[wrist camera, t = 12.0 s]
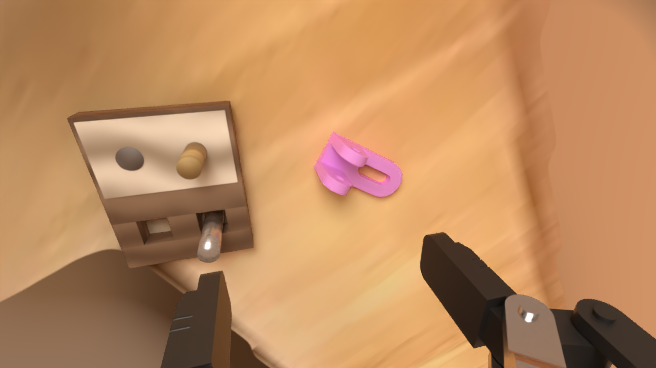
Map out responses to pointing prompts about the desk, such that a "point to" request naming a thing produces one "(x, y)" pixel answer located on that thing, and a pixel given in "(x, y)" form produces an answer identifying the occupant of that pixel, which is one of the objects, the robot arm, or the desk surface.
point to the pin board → (166, 176)
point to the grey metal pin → (211, 236)
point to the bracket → (354, 168)
